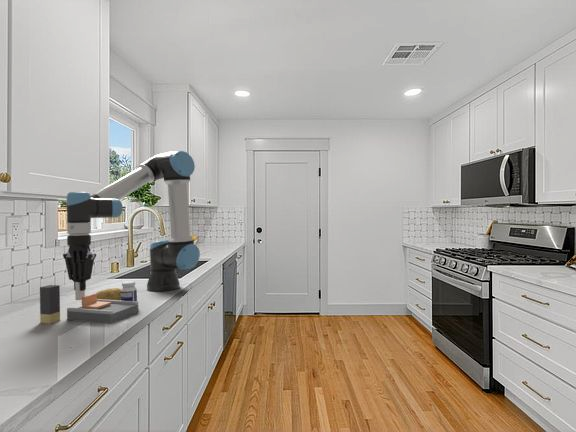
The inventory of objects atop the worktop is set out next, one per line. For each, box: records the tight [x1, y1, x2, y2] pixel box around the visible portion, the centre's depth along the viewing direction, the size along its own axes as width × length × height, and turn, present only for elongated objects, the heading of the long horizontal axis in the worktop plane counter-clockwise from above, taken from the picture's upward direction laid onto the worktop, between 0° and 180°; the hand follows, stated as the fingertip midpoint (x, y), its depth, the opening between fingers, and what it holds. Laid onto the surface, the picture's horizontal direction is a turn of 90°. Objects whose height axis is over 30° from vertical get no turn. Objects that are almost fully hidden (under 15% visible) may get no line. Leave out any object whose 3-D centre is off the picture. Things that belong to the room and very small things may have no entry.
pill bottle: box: [120, 280, 138, 302], centre depth 145 cm, size 6×6×10 cm
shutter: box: [81, 292, 111, 309], centre depth 134 cm, size 7×7×4 cm
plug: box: [39, 284, 61, 325], centre depth 127 cm, size 4×4×12 cm
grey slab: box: [66, 299, 139, 324], centre depth 133 cm, size 14×18×4 cm
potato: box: [95, 287, 122, 300], centre depth 151 cm, size 7×11×6 cm, turn 118°
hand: (80, 299), depth 136 cm, fingers closed
